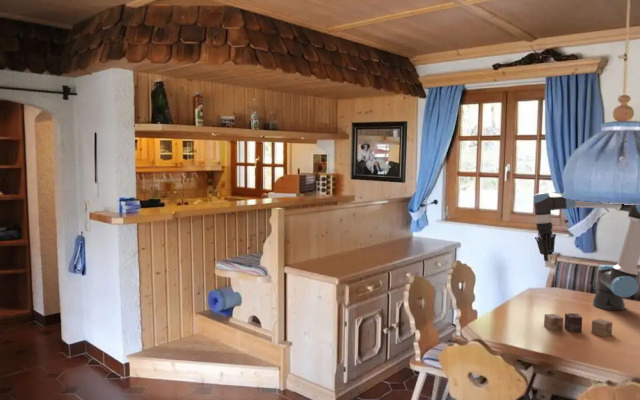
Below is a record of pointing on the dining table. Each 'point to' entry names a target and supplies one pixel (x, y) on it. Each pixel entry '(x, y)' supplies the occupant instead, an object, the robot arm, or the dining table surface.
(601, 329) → the marked block one
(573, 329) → the box
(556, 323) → the marked block two
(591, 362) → the dining table surface
